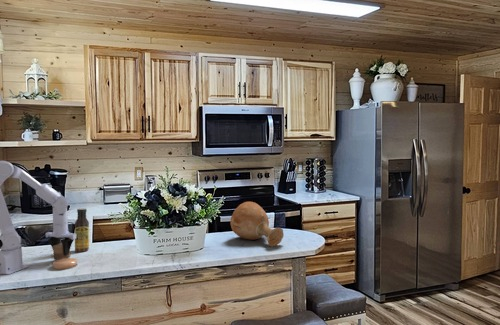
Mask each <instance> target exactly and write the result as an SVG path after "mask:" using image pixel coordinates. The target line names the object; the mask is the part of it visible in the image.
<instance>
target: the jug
mask: <svg viewBox="0 0 500 325" xmlns="http://www.w3.org/2000/svg"><path fill="white" fill-rule="evenodd" d="M269 224H270V221H269V217H268V213H266V211H265V210H264V209H263V207H261V205H259V204H258V203H256V202H255V201H254V202H253V201H243V203H241V204H239V205H238V206H237V207H236V208H235V209H234V211H233V213H232V215H231V218H230V227H231V230H232V232H233V233H234V234H235V235H237V237H240V238H242V239H244V240H251V241H254V240H255V241H256V240H257V239H260V238H262V237H266V238H265V239H266V242H267V244H268V245H269V246H270V247H276V246H277V245H279V244H280V243H281V242H282V240H283V239H284V229H283V228H282V227H275V228H270V227H269Z"/></svg>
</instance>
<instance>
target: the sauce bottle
mask: <svg viewBox="0 0 500 325" xmlns="http://www.w3.org/2000/svg"><path fill="white" fill-rule="evenodd" d="M76 213H77V217H76V220H75V223H74V234H76V239H74V251H75V252H76V253H84V252H87V251H88V250H90V225H89V224H90V221H89V220H88V219H87V208H86V207H84V208H83V207H82V208H81V207H80V208H77V209H76Z"/></svg>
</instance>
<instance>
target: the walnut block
mask: <svg viewBox="0 0 500 325" xmlns="http://www.w3.org/2000/svg"><path fill="white" fill-rule="evenodd" d="M52 251H53V254H52V255H53V260H54V261H56V260H60V259H65V258H71V255H70V254H71V253H70V252H71V251H69V254H68V255H66V256H64V252H63V245H62V243H61V242H60V244H57V245H54V246H53V248H52Z"/></svg>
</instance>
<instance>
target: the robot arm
mask: <svg viewBox="0 0 500 325" xmlns="http://www.w3.org/2000/svg"><path fill="white" fill-rule="evenodd" d="M10 177H11V178H12V179H19V180H20V181H22V182H24V183H25V184H27V185H28V186H30V187H31V188H32V189H34V190H35V195H36V196H38V197H39V198H40V199H42V200H43V201H45V202H46V203H47V204H50V205H51V206H52V225H53V226H52V228H53V229H52V231H48V232H45V238H49V239H47V241H48V243H49V244H50V246H51V249H53V246H54V245H57V244H60V243H62V245H63V252H64V256H66V255H68V254H69V251H70V250H71V247H72V244H73V242H75V239H76V234H75V233H73V232H70V231H69V223H68V222H69V221H68V206H69V204H70V203H69V200H68V199H67V198H66V197H65V196H63V195H62V194H61V193H62V192H60V191H57V190H55V189H54V188H52V187H53V186H52V184H47V183H41V182H39V181H38V180H36V179H35V178H34V177H33V176H31V175H30V174H29V173H27V172H26V171H25V170H24V169H22V168H20V167H18V166H16V165H13V164H12V163H11V162H9V161H6V160H0V232H1V233H0V241H1V242H2V246H0V275H10V274H13V273H16V272H18V271H21V270H24V269H26V268H28V267H29V266H28V265H24V264H23V249H22V247H23V246H22V244H21V243H22V237H21V236H20V234H18V232H17V230H16V229H15V226H14V224H13V221H12V219H11V215H10V212H9V208H8V206H7V204H6V203H7V202H6V200H5V197H4V193H3V191H2V189H1V186H2V185H3V183H4V182H5V181H6V180H7V179H8V178H10ZM70 252H71V251H70Z"/></svg>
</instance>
